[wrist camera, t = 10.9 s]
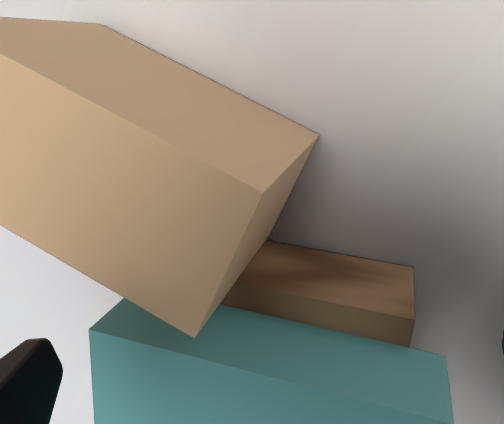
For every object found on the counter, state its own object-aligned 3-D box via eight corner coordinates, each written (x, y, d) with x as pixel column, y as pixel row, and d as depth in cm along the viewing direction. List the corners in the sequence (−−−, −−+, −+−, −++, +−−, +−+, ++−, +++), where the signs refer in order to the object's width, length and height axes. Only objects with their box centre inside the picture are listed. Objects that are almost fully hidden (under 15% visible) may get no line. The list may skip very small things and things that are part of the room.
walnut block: (413, 267, 21) (415, 319, 17) (381, 423, 25) (376, 499, 20) (206, 229, 24) (165, 267, 20) (201, 376, 27) (165, 434, 23)
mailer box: (319, 134, 21) (263, 193, 13) (269, 234, 23) (194, 338, 15) (100, 23, 22) (-79, 11, 14) (73, 128, 24) (-95, 170, 16)
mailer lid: (445, 355, 17) (454, 424, 14) (412, 488, 20) (413, 572, 17) (137, 285, 21) (88, 329, 17) (139, 406, 23) (96, 464, 20)
